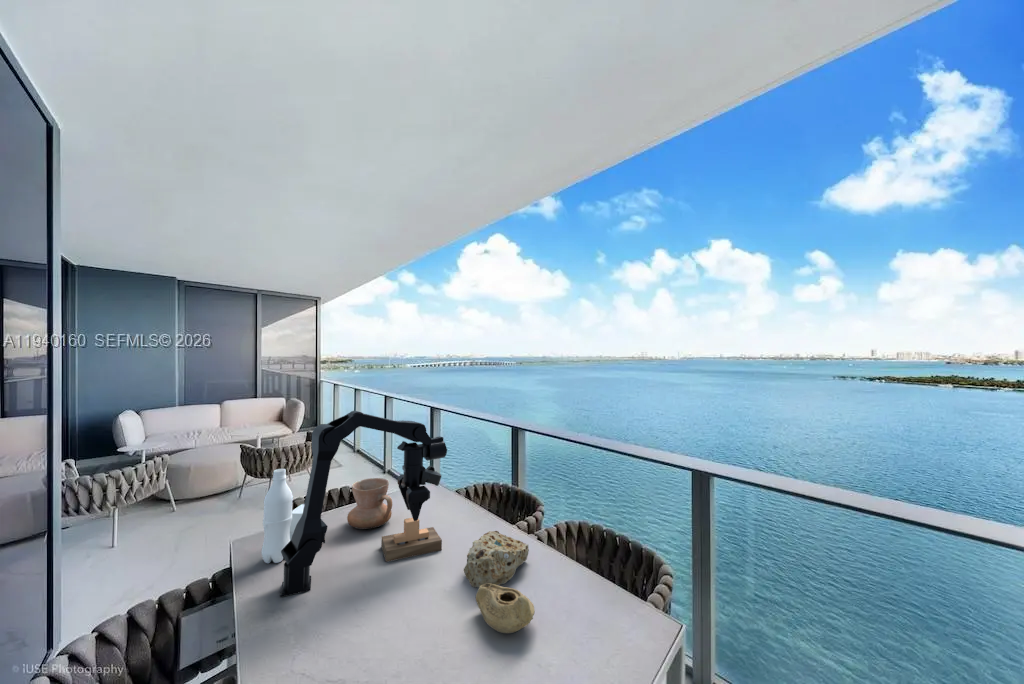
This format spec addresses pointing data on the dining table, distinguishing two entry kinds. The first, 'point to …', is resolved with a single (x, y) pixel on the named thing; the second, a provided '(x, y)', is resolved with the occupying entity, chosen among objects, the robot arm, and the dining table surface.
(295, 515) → the small box
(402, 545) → the brown slotted block
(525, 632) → the dining table surface
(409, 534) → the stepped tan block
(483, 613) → the oil lamp
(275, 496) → the water bottle
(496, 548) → the rock
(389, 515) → the ceramic jug
